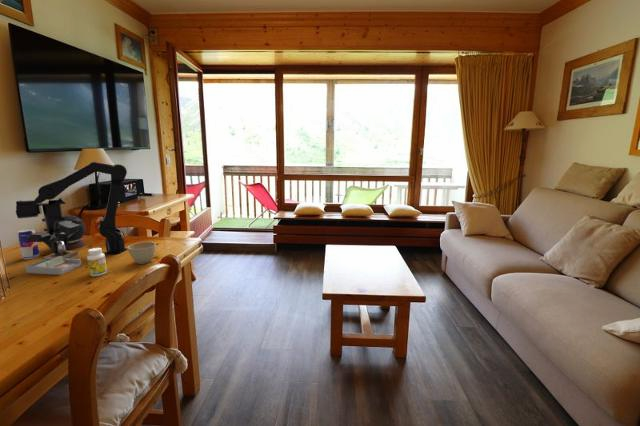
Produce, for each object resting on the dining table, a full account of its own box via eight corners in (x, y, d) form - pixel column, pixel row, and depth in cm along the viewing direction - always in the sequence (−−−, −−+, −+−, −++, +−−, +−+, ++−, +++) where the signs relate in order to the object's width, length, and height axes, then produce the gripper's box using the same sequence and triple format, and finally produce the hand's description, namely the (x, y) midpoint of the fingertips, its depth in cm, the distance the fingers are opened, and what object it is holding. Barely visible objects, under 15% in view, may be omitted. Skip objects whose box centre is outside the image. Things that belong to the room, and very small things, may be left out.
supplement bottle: (110, 271, 117) (107, 247, 115) (97, 277, 112) (93, 252, 110) (100, 269, 119) (96, 246, 116) (86, 275, 114) (82, 250, 111)
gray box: (81, 265, 123) (80, 259, 122) (60, 274, 114) (59, 268, 113) (49, 263, 124) (48, 257, 124) (26, 273, 115) (24, 266, 115)
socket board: (78, 256, 132) (77, 251, 131) (61, 263, 124) (60, 258, 123) (61, 256, 132) (60, 250, 132) (43, 263, 125) (42, 257, 124)
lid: (65, 262, 122) (64, 256, 121) (48, 269, 115) (47, 262, 115) (49, 261, 123) (48, 255, 122) (32, 268, 116) (30, 261, 115)
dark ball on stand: (76, 240, 153) (71, 211, 150) (95, 243, 149) (90, 213, 145) (45, 249, 141) (39, 217, 138) (65, 252, 137) (59, 220, 133)
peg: (68, 252, 129) (66, 240, 128) (60, 255, 126) (58, 243, 125) (60, 252, 130) (58, 240, 128) (53, 255, 126) (50, 242, 125)
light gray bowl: (161, 261, 127) (159, 245, 126) (134, 268, 120) (132, 251, 119) (152, 255, 134) (150, 240, 132) (126, 261, 127) (124, 245, 125)
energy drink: (29, 260, 127) (23, 232, 125) (19, 259, 129) (13, 231, 126) (43, 255, 133) (37, 229, 130) (33, 254, 134) (27, 228, 131)
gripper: (49, 221, 114) (57, 261, 118) (90, 211, 132) (96, 245, 136) (22, 220, 115) (31, 259, 119) (67, 210, 133) (73, 244, 137)
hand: (60, 251), depth 128 cm, fingers closed on peg, 3 cm apart
